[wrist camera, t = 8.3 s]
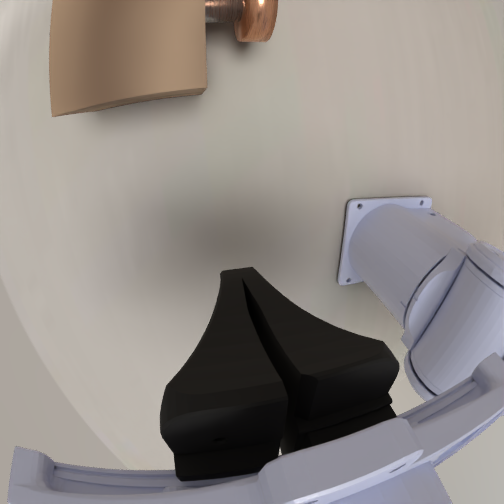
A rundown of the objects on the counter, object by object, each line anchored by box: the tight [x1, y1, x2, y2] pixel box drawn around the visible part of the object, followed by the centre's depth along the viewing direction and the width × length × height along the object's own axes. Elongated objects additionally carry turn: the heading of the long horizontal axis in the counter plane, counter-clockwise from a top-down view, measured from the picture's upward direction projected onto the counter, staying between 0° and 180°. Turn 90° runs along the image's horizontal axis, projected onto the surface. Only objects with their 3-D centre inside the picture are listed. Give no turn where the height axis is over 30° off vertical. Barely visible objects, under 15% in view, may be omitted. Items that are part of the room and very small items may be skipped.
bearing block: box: [49, 0, 207, 117], centre depth 10 cm, size 7×10×7 cm
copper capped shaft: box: [205, 0, 278, 42], centre depth 10 cm, size 11×4×4 cm, turn 92°
